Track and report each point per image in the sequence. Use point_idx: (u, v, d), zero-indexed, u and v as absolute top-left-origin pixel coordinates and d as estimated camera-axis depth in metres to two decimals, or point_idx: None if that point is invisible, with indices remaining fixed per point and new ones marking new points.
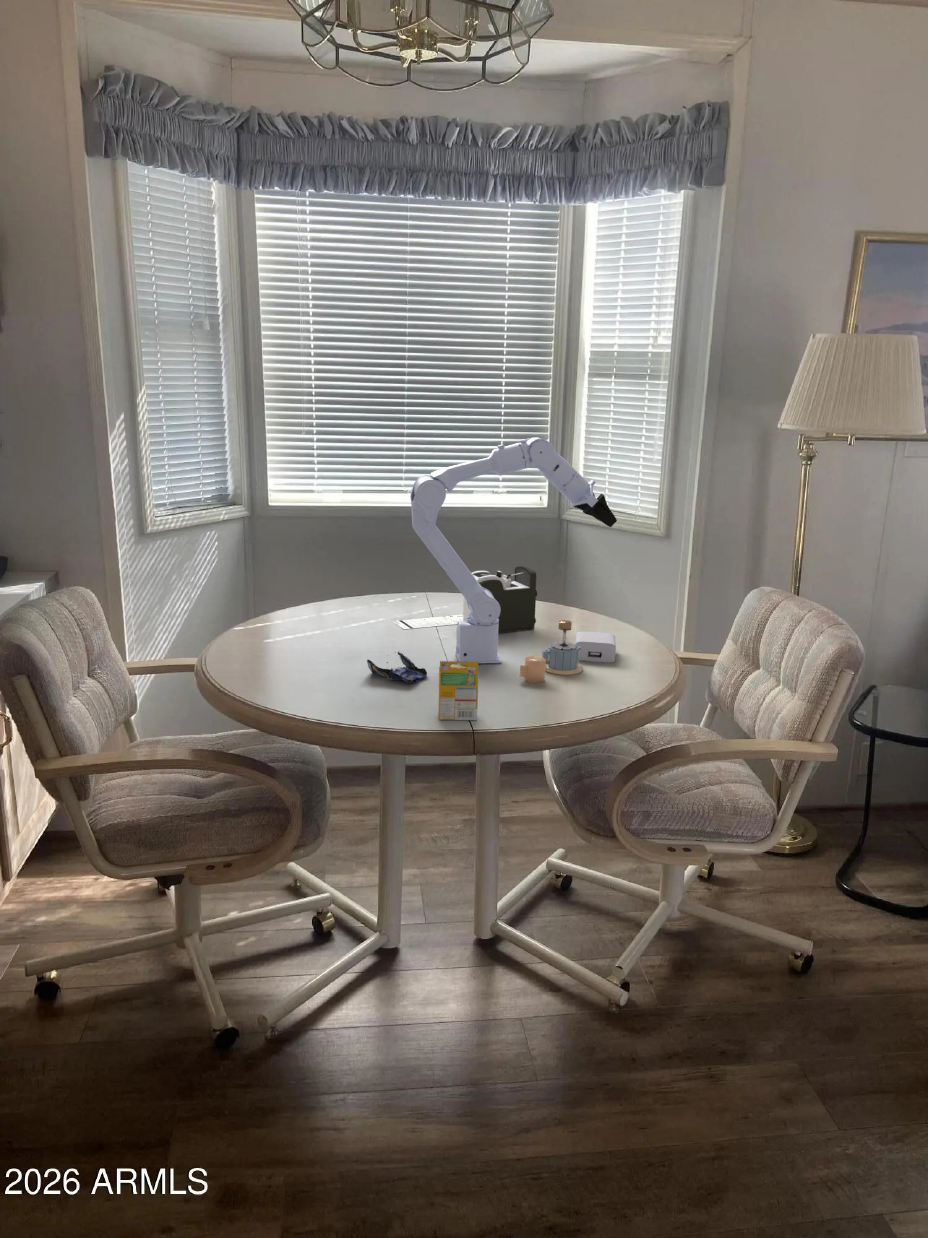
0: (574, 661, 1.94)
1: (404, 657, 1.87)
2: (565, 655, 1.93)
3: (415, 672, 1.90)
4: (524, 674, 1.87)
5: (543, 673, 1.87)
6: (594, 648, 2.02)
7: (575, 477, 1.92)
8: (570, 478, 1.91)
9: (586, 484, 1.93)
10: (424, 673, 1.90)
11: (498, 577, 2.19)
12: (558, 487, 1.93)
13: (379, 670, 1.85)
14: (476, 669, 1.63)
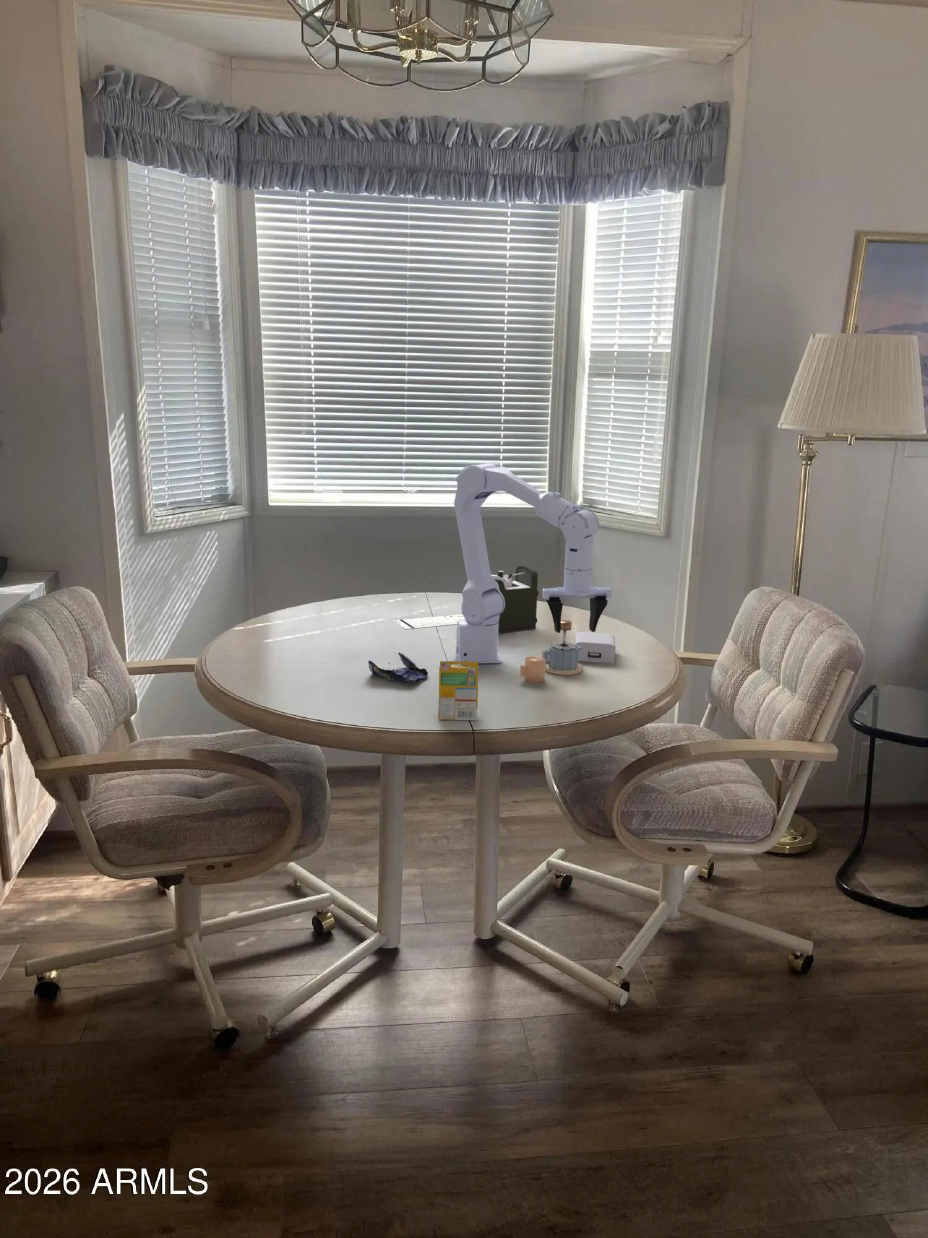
0: (574, 661, 1.94)
1: (405, 658, 1.87)
2: (565, 655, 1.93)
3: (415, 672, 1.90)
4: (524, 674, 1.87)
5: (543, 673, 1.87)
6: (594, 649, 2.02)
7: (568, 572, 1.83)
8: (574, 569, 1.82)
9: (570, 587, 1.83)
10: (425, 673, 1.90)
11: (500, 577, 2.19)
12: None
13: (381, 671, 1.85)
14: (476, 669, 1.63)
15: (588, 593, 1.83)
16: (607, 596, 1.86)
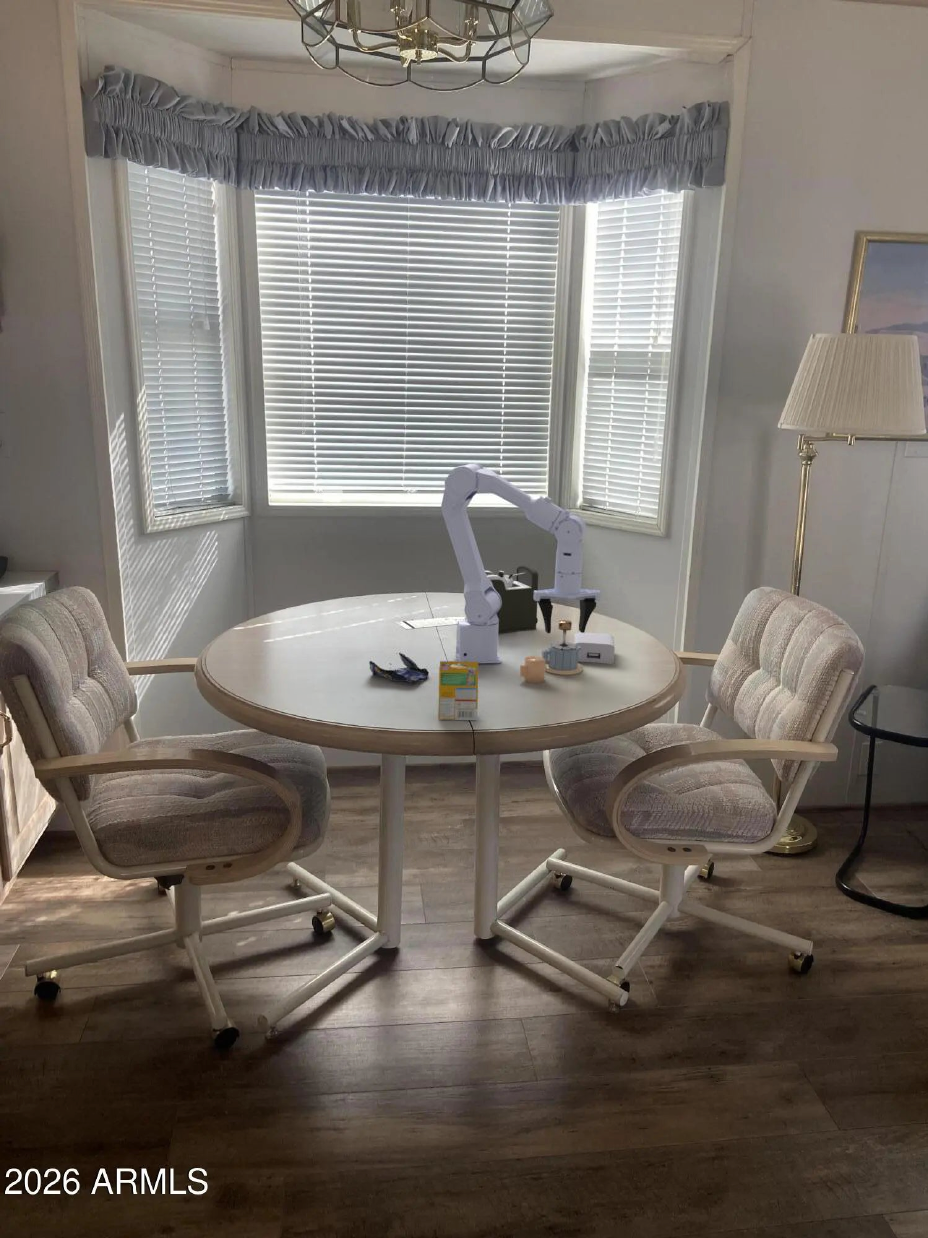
0: (574, 661, 1.94)
1: (406, 658, 1.87)
2: (565, 655, 1.93)
3: (416, 672, 1.90)
4: (524, 674, 1.87)
5: (543, 673, 1.87)
6: (593, 649, 2.01)
7: (559, 575, 1.90)
8: (568, 572, 1.88)
9: (560, 589, 1.90)
10: (425, 673, 1.90)
11: (500, 577, 2.19)
12: (555, 569, 1.91)
13: (382, 671, 1.85)
14: (476, 669, 1.63)
15: (577, 595, 1.90)
16: (596, 598, 1.93)
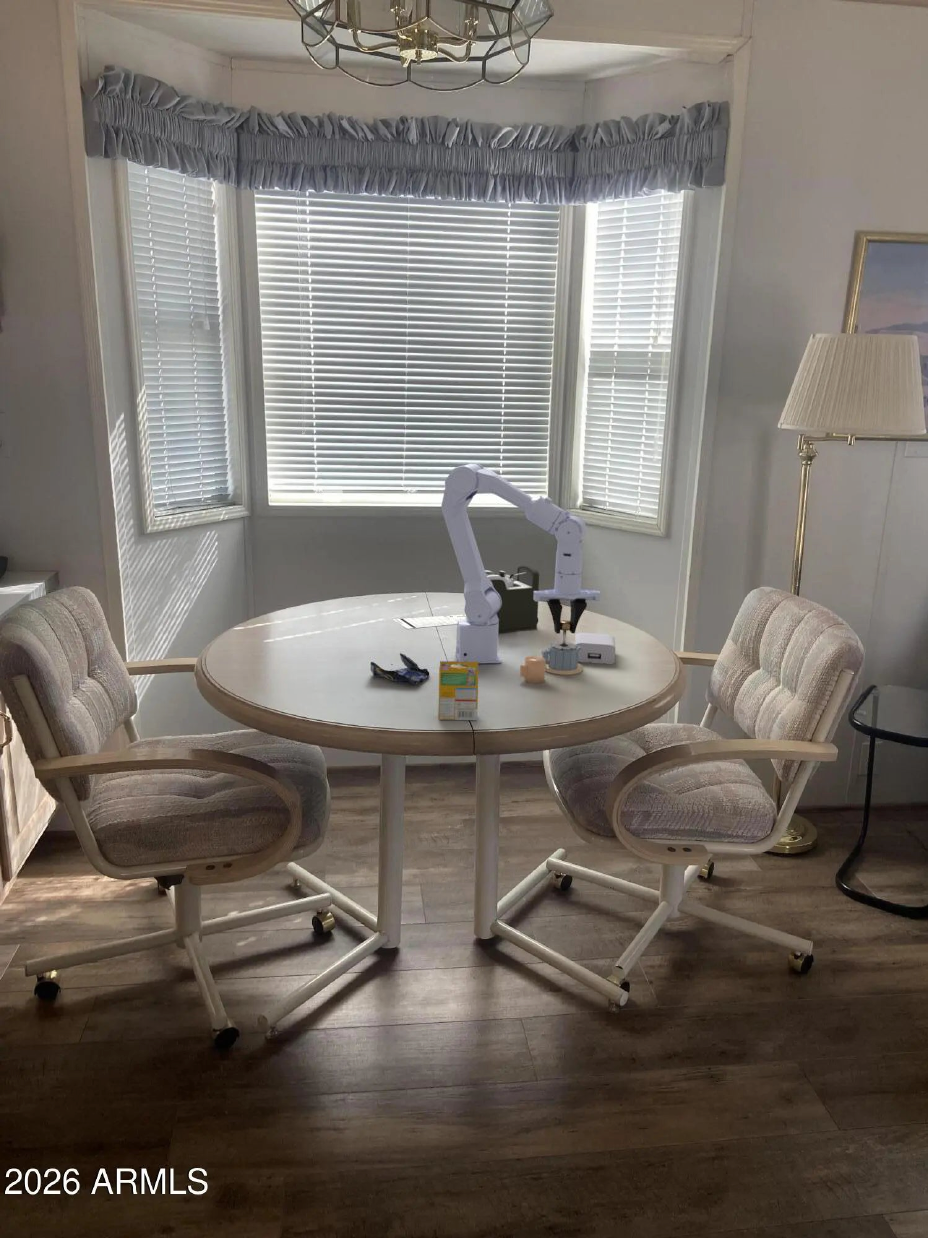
0: (574, 661, 1.94)
1: (407, 658, 1.87)
2: (565, 655, 1.93)
3: (416, 673, 1.90)
4: (524, 674, 1.87)
5: (543, 673, 1.87)
6: (594, 650, 2.01)
7: (559, 575, 1.90)
8: (568, 573, 1.88)
9: (560, 589, 1.90)
10: (426, 673, 1.90)
11: (501, 577, 2.20)
12: (555, 569, 1.91)
13: (383, 672, 1.84)
14: (476, 669, 1.63)
15: (577, 596, 1.90)
16: (596, 599, 1.93)
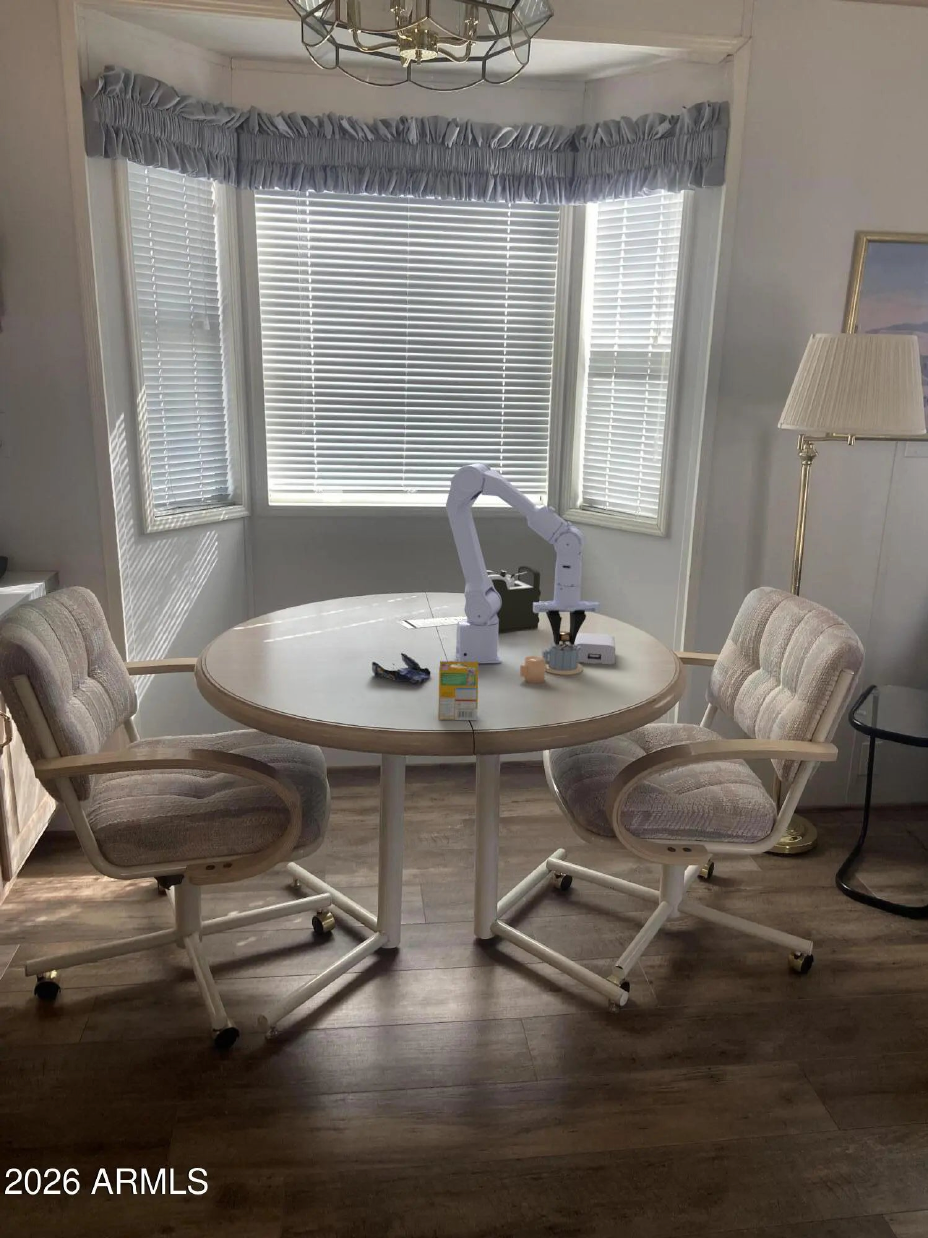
0: (574, 661, 1.94)
1: (408, 658, 1.87)
2: (565, 655, 1.93)
3: (417, 672, 1.90)
4: (524, 674, 1.87)
5: (543, 673, 1.87)
6: (594, 650, 2.01)
7: (558, 587, 1.90)
8: (567, 585, 1.89)
9: (560, 601, 1.91)
10: (427, 673, 1.90)
11: (502, 577, 2.20)
12: (555, 581, 1.91)
13: (385, 672, 1.84)
14: (476, 669, 1.63)
15: (576, 607, 1.91)
16: (595, 610, 1.94)
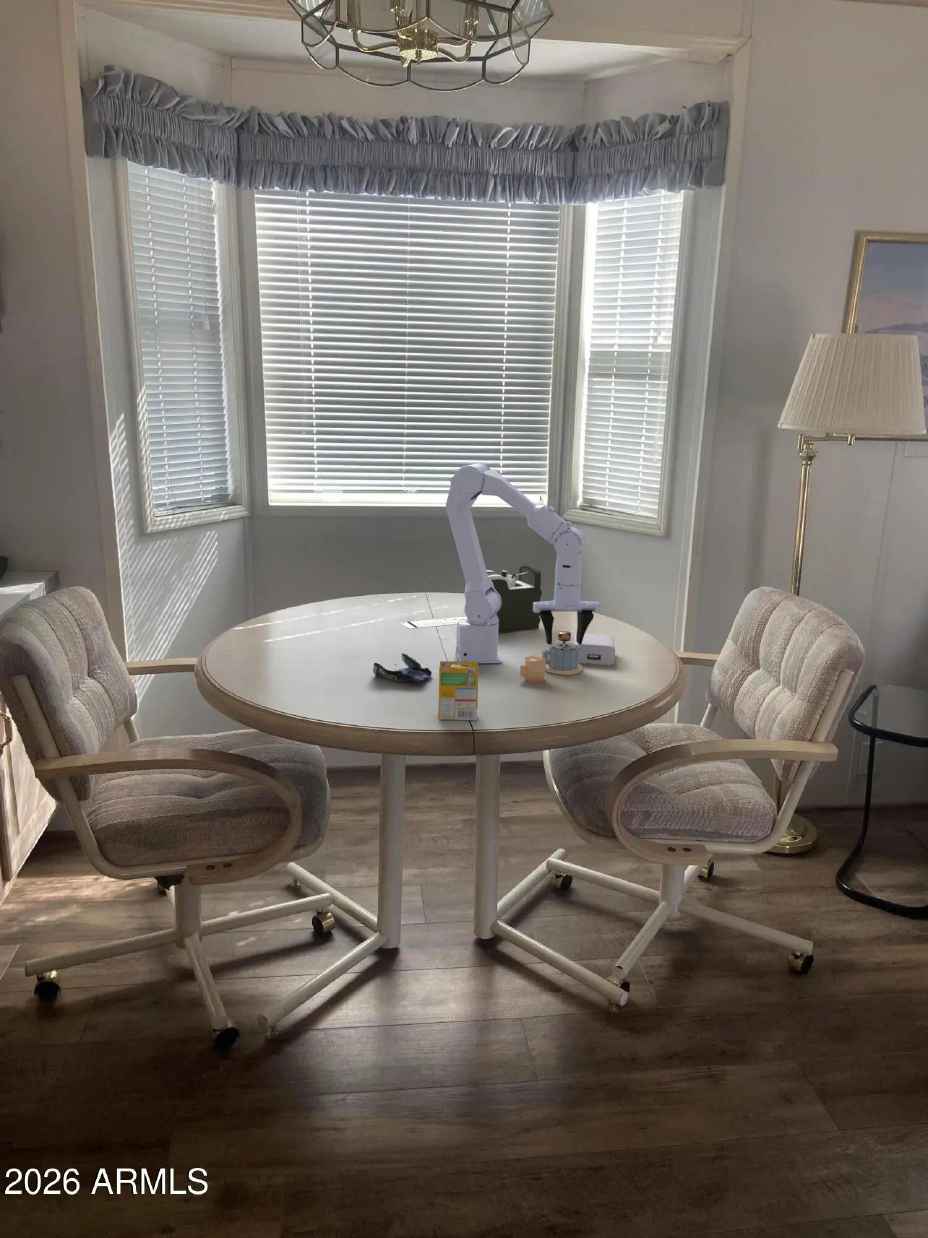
0: (574, 661, 1.94)
1: (409, 658, 1.87)
2: (565, 655, 1.93)
3: (418, 672, 1.90)
4: (524, 674, 1.87)
5: (543, 673, 1.87)
6: (593, 651, 2.00)
7: (558, 586, 1.90)
8: (567, 584, 1.89)
9: (560, 601, 1.91)
10: (427, 673, 1.90)
11: (503, 577, 2.20)
12: (555, 581, 1.91)
13: (387, 673, 1.84)
14: (476, 669, 1.63)
15: (577, 607, 1.91)
16: (595, 610, 1.94)
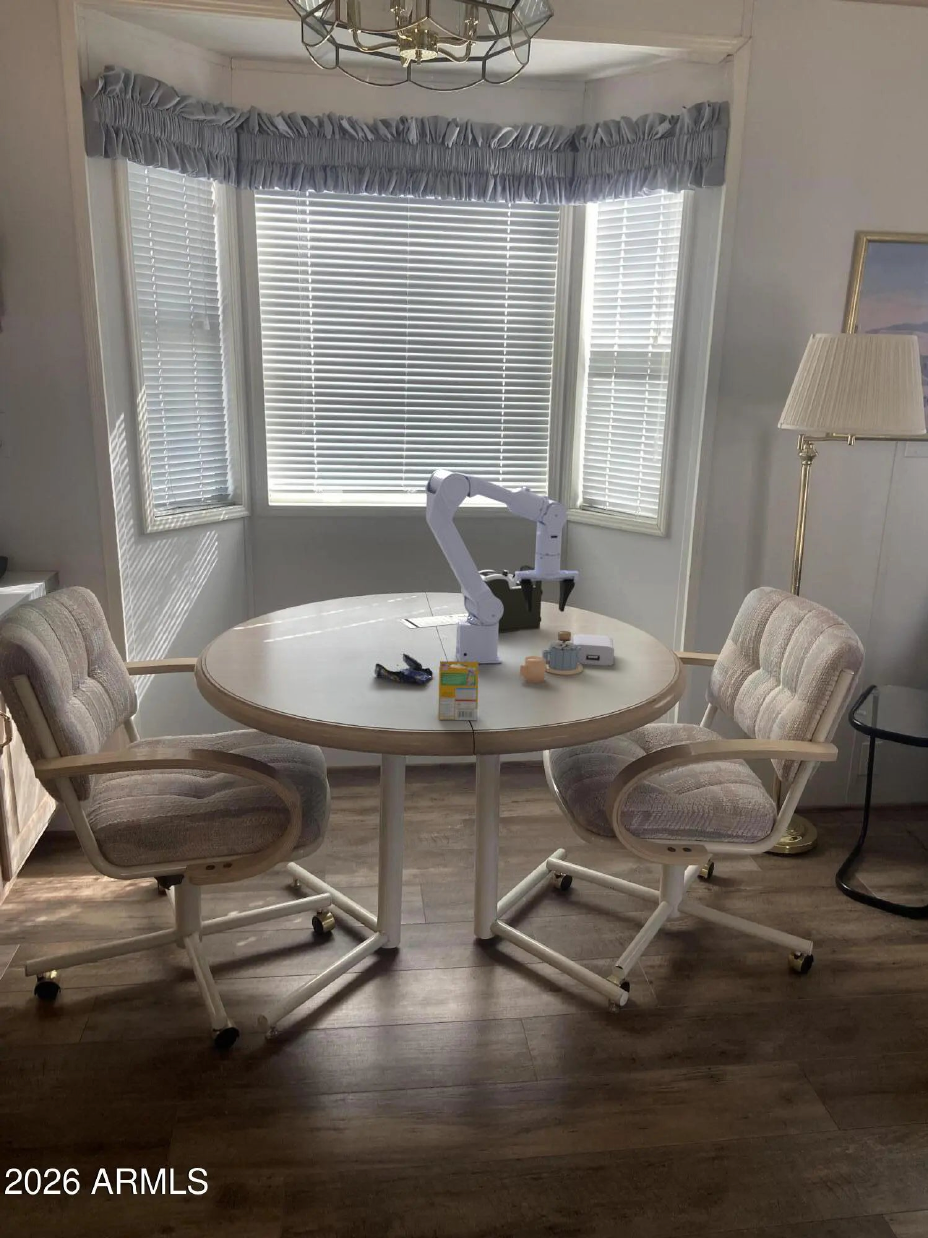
0: (574, 661, 1.94)
1: (410, 658, 1.87)
2: (565, 655, 1.93)
3: (419, 672, 1.90)
4: (524, 674, 1.87)
5: (543, 673, 1.87)
6: (592, 651, 2.00)
7: (539, 556, 1.99)
8: (555, 554, 1.99)
9: (540, 570, 2.00)
10: (428, 673, 1.90)
11: (504, 576, 2.20)
12: (540, 552, 1.99)
13: (389, 673, 1.84)
14: (476, 669, 1.63)
15: (557, 576, 2.00)
16: (575, 579, 2.03)
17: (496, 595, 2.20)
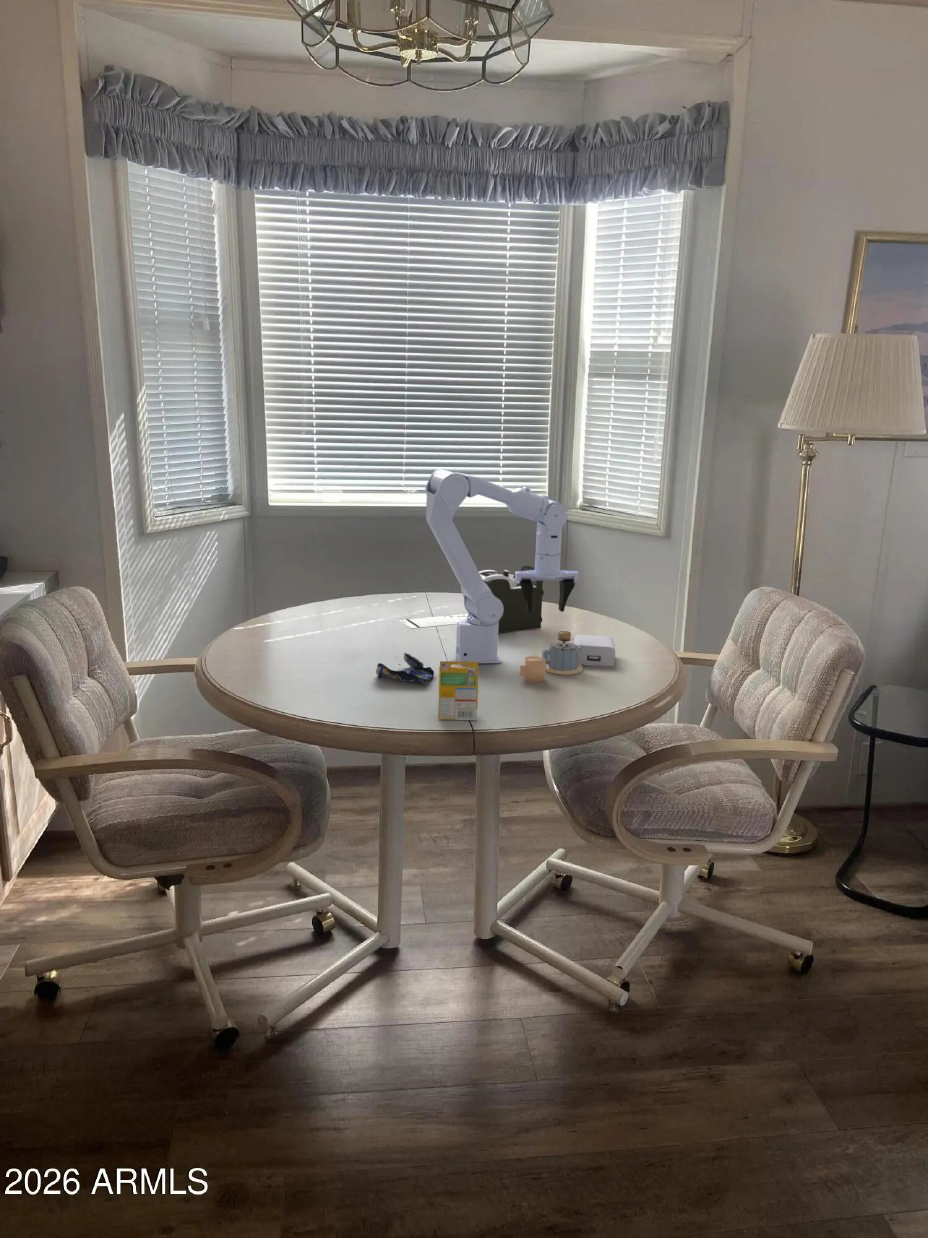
0: (574, 661, 1.94)
1: (412, 658, 1.87)
2: (565, 655, 1.93)
3: (420, 671, 1.90)
4: (524, 674, 1.87)
5: (543, 673, 1.87)
6: (593, 652, 1.99)
7: (539, 556, 1.99)
8: (555, 553, 1.99)
9: (540, 570, 2.00)
10: (429, 672, 1.90)
11: (505, 576, 2.20)
12: (540, 552, 1.99)
13: (391, 673, 1.84)
14: (476, 669, 1.63)
15: (556, 576, 2.00)
16: (575, 579, 2.03)
17: (497, 595, 2.20)
